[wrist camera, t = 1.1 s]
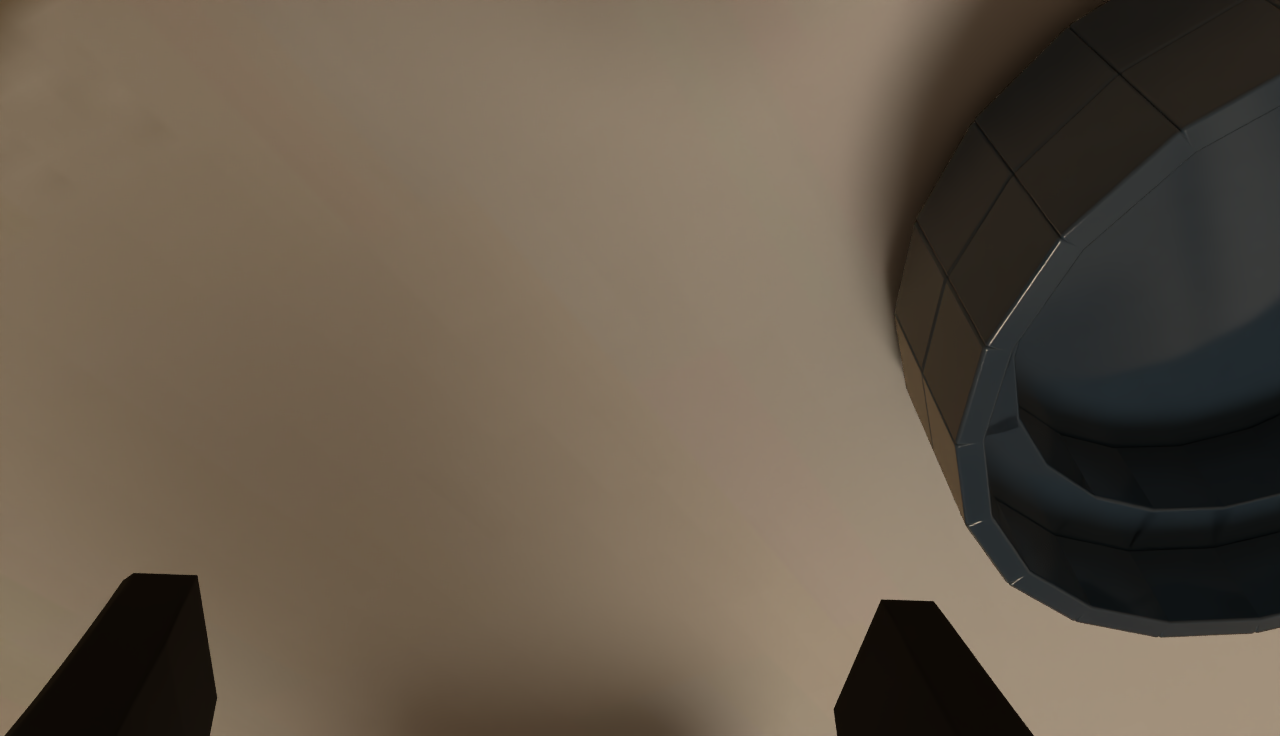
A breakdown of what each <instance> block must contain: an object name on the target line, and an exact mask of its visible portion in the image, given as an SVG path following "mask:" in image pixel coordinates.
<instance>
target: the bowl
mask: <svg viewBox="0 0 1280 736" xmlns="http://www.w3.org/2000/svg"><path fill="white" fill-rule="evenodd" d="M894 317H895V323H896V329H897V335H898V341H899V347H900V353H901V359H902V366H903V372H904V378H905V384H906V389H907V391H908V393H909V396H910V398H911V400H912V403H913V405H914V407H915V410H916V412H917V414H918V416H919V419H920V421H921V423H922V426H923V428H924V430H925V433H926V435H927V437H928V440H929V442H930V444H931V446H932V449H933V451H934V453H935V456H936V458H937V460H938V463H939V465H940V467H941V470H942V472H943V474H944V476H945V479H946V481H947V483H948V486H949V488H950V490H951V493H952V495H953V497H954V500H955V502H956V504H957V506H958V509H959V511H960V513H961V516H962V518H963V520H964V523H965V525H966V527H967V528H968V529H969V531H970V532H971V534H972V535H973V536H974V538H975V539H976V541H977V542H978V543H979V545H980V546H981V548H982V549H983V550H984V552H985V553H986V555H987V556H988V557H989V559H990V560H991V562H992V563H993V564H994V566H995V567H996V569H997V570H998V571H999V573H1000V574H1001V576H1002V577H1003V578H1004V580H1005V581H1006V582H1007V583H1009V585H1011V586H1012V587H1014V588H1016V589H1018V590H1019V591H1021V592H1023V593H1025V594H1027V595H1028V596H1030V597H1032V598H1034V599H1035V600H1037V601H1039V602H1041V603H1043V604H1044V605H1046V606H1048V607H1050V608H1051V609H1053V610H1055V611H1057V612H1059V613H1060V614H1062V615H1064V616H1066V617H1067V618H1069V619H1071V620H1073V621H1076V622H1080V623H1085V624H1090V625H1095V626H1100V627H1106V628H1111V629H1116V630H1121V631H1126V632H1132V633H1137V634H1142V635H1147V636H1153V637H1158V636H1159V637H1161V638H1162V637H1185V636H1208V635H1230V634H1252V633H1254V632H1256V633H1259V632H1263V631H1268V630H1272V629H1276V628H1280V0H1109V1H1108V2H1106V3H1104V4H1103V5H1101V6H1099V7H1098V8H1096V9H1094V10H1093V11H1091V12H1089V13H1088V14H1086V15H1085V16H1083V17H1081V18H1080V19H1078V20H1076V21H1075V22H1073V23H1071V24H1070V28H1066V29H1064V30H1063V31H1062V32H1061V33H1060V34H1059V35H1058V36H1057V37H1056V38H1055V39H1054V40H1053V41H1052V42H1051V43H1050V44H1049V45H1048V46H1047V47H1046V48H1045V49H1044V50H1043V51H1042V52H1041V53H1040V54H1039V55H1038V56H1037V57H1036V58H1035V59H1034V60H1033V61H1032V62H1031V63H1030V64H1029V65H1028V66H1027V67H1026V68H1025V69H1024V70H1023V71H1022V72H1021V73H1020V74H1019V75H1018V76H1017V77H1016V78H1015V79H1014V80H1013V81H1012V82H1011V83H1010V84H1009V85H1008V86H1007V87H1006V88H1005V89H1004V90H1003V91H1002V92H1001V93H1000V94H999V95H998V96H997V97H996V98H995V99H994V100H993V101H992V102H991V103H990V104H989V105H988V106H987V107H986V108H985V109H984V110H983V111H982V112H981V113H980V114H979V115H978V116H977V117H976V118H975V122H973V123H971V125H970V126H969V128H968V130H967V132H966V133H965V135H964V137H963V138H962V140H961V142H960V144H959V145H958V147H957V149H956V150H955V152H954V154H953V156H952V157H951V159H950V161H949V162H948V164H947V166H946V167H945V169H944V171H943V173H942V174H941V176H940V178H939V179H938V181H937V183H936V185H935V186H934V188H933V190H932V191H931V193H930V195H929V197H928V198H927V200H926V202H925V203H924V205H923V207H922V208H921V210H920V212H919V214H918V215H917V218H916V222H915V223H914V227H913V232H912V236H911V240H910V245H909V249H908V254H907V258H906V263H905V267H904V272H903V276H902V281H901V285H900V289H899V294H898V298H897V303H896V307H895V314H894Z"/></svg>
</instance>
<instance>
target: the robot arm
mask: <svg viewBox="0 0 1280 736" xmlns="http://www.w3.org/2000/svg"><path fill="white" fill-rule="evenodd" d="M216 701H217V693H216V687H215V681H214V675H213V669H212V662H211V656H210V650H209V644H208V638H207V631H206V625H205V619H204V613H203V606H202V600H201V594H200V588H199V582H198V575H175V574H146V573H133V574H131V575H130V576H129V577H127V578H126V579H124V580H123V581H122V583H121V584H120V585H119V587H118V588H117V590H116V591H115V593H114V594H113V595H112V597H111V598H110V600H109V601H108V603H107V604H106V605H105V607H104V608H103V610H102V611H101V612H100V614H99V615H98V616H97V618H96V619H95V621H94V622H93V623H92V625H91V626H90V627H89V629H88V630H87V632H86V633H85V634H84V636H83V637H82V638H81V640H80V641H79V642H78V644H77V645H76V646H75V648H74V649H73V650H72V652H71V653H70V654H69V656H68V657H67V658H66V660H65V661H64V662H63V663H62V665H61V666H60V667H59V669H58V670H57V671H56V672H55V674H54V675H53V676H52V678H51V679H50V680H49V681H48V683H47V684H46V685H45V687H44V688H43V689H42V690H41V692H40V693H39V694H38V696H37V697H36V698H35V699H34V701H33V702H32V703H31V704H30V706H29V707H28V708H27V709H26V710H25V712H24V713H23V714H22V715H21V716H20V718H19V719H18V720H17V721H16V723H15V724H14V725H13V726H12V727H11V729H10V730H9V731H8V732H7V733H6V735H5V736H210V731H211V726H212V721H213V716H214V711H215V706H216ZM834 715H835V723H836V730H837V736H1034V735H1033V734H1032V733H1031V731H1030V730H1029V729H1028V727H1027V726H1026V725H1025V723H1024V722H1023V721H1022V719H1021V718H1020V717H1019V716H1018V714H1017V713H1016V711H1015V710H1014V709H1013V707H1012V706H1011V705H1010V703H1009V702H1008V701H1007V699H1006V698H1005V697H1004V695H1003V694H1002V693H1001V691H1000V690H999V689H998V687H997V686H996V685H995V683H994V682H993V681H992V679H991V678H990V677H989V675H988V674H987V673H986V671H985V670H984V668H983V667H982V666H981V664H980V663H979V662H978V660H977V659H976V658H975V656H974V655H973V654H972V652H971V651H970V649H969V648H968V647H967V645H966V644H965V643H964V641H963V640H962V639H961V637H960V636H959V634H958V633H957V632H956V630H955V629H954V628H953V626H952V625H951V624H950V622H949V621H948V620H947V618H946V617H945V616H944V614H943V613H942V612H941V610H940V609H939V608H938V606H937V605H936V604H935V603H934V601H909V600H881V602H880V604H879V606H878V608H877V611H876V613H875V615H874V618H873V620H872V622H871V625H870V627H869V629H868V631H867V634H866V636H865V638H864V641H863V643H862V645H861V648H860V650H859V652H858V654H857V657H856V659H855V661H854V664H853V666H852V668H851V671H850V673H849V675H848V677H847V680H846V682H845V684H844V687H843V689H842V691H841V694H840V696H839V698H838V700H837V703H836V705H835V707H834Z"/></svg>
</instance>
